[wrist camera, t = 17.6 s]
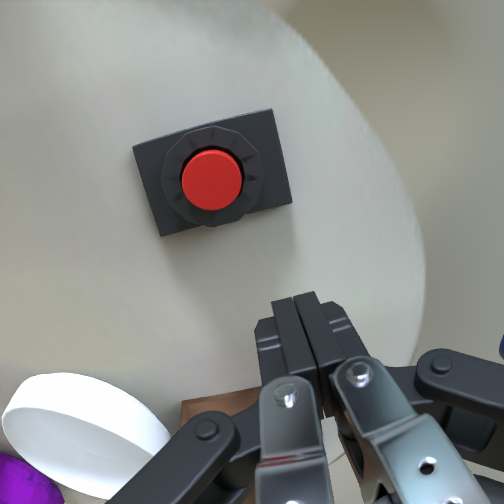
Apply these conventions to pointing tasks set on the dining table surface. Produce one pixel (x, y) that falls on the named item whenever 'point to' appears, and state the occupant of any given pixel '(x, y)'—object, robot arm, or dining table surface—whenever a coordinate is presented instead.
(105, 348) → the dining table surface
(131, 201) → the dining table surface
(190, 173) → the button
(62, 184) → the dining table surface
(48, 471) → the bowl
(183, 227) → the switch box
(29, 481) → the decorative plant
